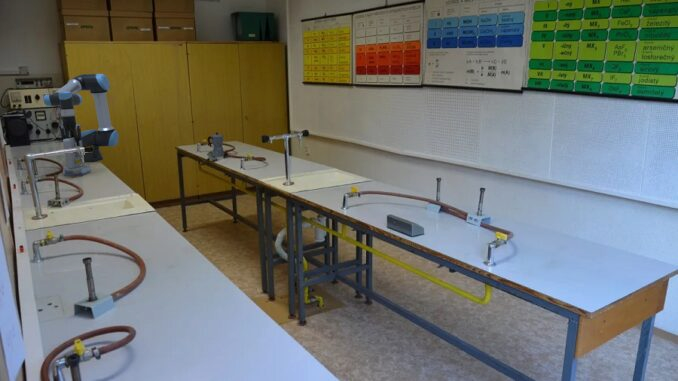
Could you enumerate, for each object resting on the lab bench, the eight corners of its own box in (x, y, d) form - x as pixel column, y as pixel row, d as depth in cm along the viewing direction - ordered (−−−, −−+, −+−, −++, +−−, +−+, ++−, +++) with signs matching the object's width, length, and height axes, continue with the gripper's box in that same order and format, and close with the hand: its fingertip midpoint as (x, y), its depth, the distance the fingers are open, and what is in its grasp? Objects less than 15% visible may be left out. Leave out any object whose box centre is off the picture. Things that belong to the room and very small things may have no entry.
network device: (75, 166, 340) (71, 137, 337) (89, 165, 342) (85, 136, 338) (63, 171, 315) (58, 139, 312) (78, 169, 317) (73, 138, 314)
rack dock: (71, 172, 335) (70, 166, 334) (90, 172, 335) (89, 165, 334) (64, 176, 325) (63, 169, 324) (83, 175, 326) (82, 168, 324)
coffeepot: (222, 153, 398) (220, 131, 394) (229, 154, 392) (227, 131, 387) (205, 156, 387) (203, 133, 383) (212, 157, 381) (210, 134, 376)
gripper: (51, 116, 317) (57, 152, 323) (79, 116, 317) (84, 152, 323) (57, 115, 324) (63, 150, 330) (84, 114, 325) (89, 150, 330)
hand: (73, 151), depth 326 cm, fingers open, 4 cm apart
